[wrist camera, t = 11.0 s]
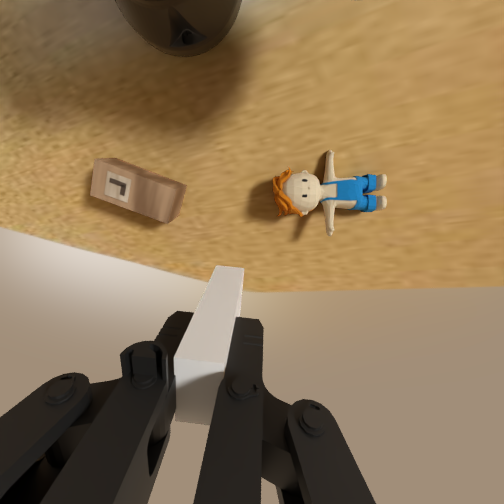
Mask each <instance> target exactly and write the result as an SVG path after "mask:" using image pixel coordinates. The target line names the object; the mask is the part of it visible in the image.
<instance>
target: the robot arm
mask: <svg viewBox="0 0 504 504" xmlns="http://www.w3.org/2000/svg"><path fill="white" fill-rule="evenodd" d="M115 1H116V3H117V5H118V7H119V9H120V10H121V12H122V14H123V15H124V17H125V18H126V19H127V21H128V22H129V24H130V25H131V26H132V27H133V28H134V29H135V30H136V31H137V32H138V33H139V34H140V35H141V36H142V37H143V38H144V39H145V40H146V41H147V42H148V43H150V44H151V45H152V46H154V47H155V48H157V49H159V50H160V51H162V52H165V53H167V54H170V55H174V56H182V57H187V56H194V55H198V54H201V53H204V52H206V51H208V50H210V49H211V48H213V47H214V46H215V45H217V44H218V43H219V42H220V41H221V40H222V39H223V38H224V37H225V35H226V34H227V33H228V31H229V30H230V28H231V27H232V25H233V23H234V21H235V19H236V17H237V14H238V11H239V8H240V5H241V1H242V0H115ZM243 276H244V268H237V267H228V266H219V265H216V267H215V269H214V271H213V274H212V276H211V278H210V280H209V282H208V284H207V287H206V289H205V291H204V293H203V295H202V297H201V300H200V302H199V304H198V306H197V308H196V310H195V313H192V312H183V311H177V312H175V313H174V314H173V315H171V316H170V317H168V319H167V320H166V322H165V324H164V325H163V328H162V329H161V330H160V332H159V335H157V337H156V339H155V340H154V341H142V342H138V343H135V344H133V345H131V346H129V347H127V348H126V349H125V350H124V351H123V352H122V353H121V354H120V359H121V367H122V375H123V376H122V377H121V378H119V379H115V380H111V381H105V382H99V383H92V384H90V383H89V379H88V377H86V376H85V375H84V374H81V373H75V372H74V373H67V374H63V375H60V376H57V377H55V378H53V379H51V380H49V381H48V382H46V383H44V384H43V385H42V386H40V387H39V388H38V389H36V390H35V391H34V392H32V393H31V394H30V395H29V396H27V397H26V398H25V399H23V400H22V401H21V402H19V403H18V404H17V405H16V406H14V407H13V408H12V409H11V410H9V411H8V412H7V413H6V414H4V415H3V416H1V417H0V504H147V503H148V500H149V497H150V494H151V491H152V489H153V485H154V483H155V479H156V477H157V474H158V471H159V468H160V465H161V462H162V459H163V456H164V453H165V450H166V448H167V445H168V442H169V438H170V424H171V421H172V419H173V416H174V413H175V420H176V421H180V422H188V423H196V424H204V425H210V429H209V434H208V438H207V443H206V447H205V452H204V457H203V461H202V466H201V471H200V475H199V480H198V484H197V489H196V494H195V499H194V503H193V504H261V477H262V478H264V479H266V480H267V481H269V482H271V483H273V484H274V485H276V489H277V494H278V499H279V504H376V503H375V501H374V499H373V497H372V495H371V493H370V491H369V489H368V487H367V484H366V482H365V480H364V478H363V476H362V474H361V472H360V470H359V468H358V466H357V464H356V462H355V460H354V457H353V455H352V453H351V452H350V449H349V447H348V445H347V443H346V441H345V439H344V437H343V435H342V433H341V431H340V428H339V427H338V424H337V422H336V420H335V418H334V417H333V416H332V414H331V413H330V411H329V410H328V409H327V408H325V407H324V406H323V405H322V404H320V403H318V402H315V401H313V400H305V399H302V400H299V401H296V402H295V403H294V404H293V405H290V404H288V403H285V402H283V401H281V400H279V399H277V398H275V397H274V396H273V395H272V394H270V393H269V392H268V390H267V389H266V388H265V386H264V383H263V380H262V362H263V326H262V324H261V323H260V321H259V319H251V318H242V317H239V316H240V309H241V298H242V287H243Z"/></svg>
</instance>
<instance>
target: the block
mask: <svg viewBox="0 0 504 504" xmlns="http://www.w3.org/2000/svg"><path fill="white" fill-rule="evenodd" d="M186 187H187V185H185V184H182V183H179V182H177V181H174V180H172V179H169V178H166V177H164V176H161V175H159V174H156V173H153V172H151V171H148V170H146V169H143V168H140V167H138V166H135V165H133V164H130V163H127V162H125V161H122V160H119V159H117V158H101V159H95V160H94V168H93V176H92V184H91V192H90V195H91V196H93V197H96V198H99V199H102V200H104V201H107V202H110V203H112V204H115V205H118V206H121V207H123V208H126V209H129V210H131V211H134V212H137V213H140V214H142V215H145V216H148V217H150V218H153V219H156V220H158V221H161V222H164V223H167V224H168V223H169V222H171V221H172V220H174V219H175V218H176V217H178V216H179V213H180V209H181V206H182V202H183V198H184V194H185V191H186Z"/></svg>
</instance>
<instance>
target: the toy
mask: <svg viewBox="0 0 504 504" xmlns="http://www.w3.org/2000/svg"><path fill="white" fill-rule="evenodd" d="M333 157H334V152H332V150H329V151H328V152H327V154H326V163H325V173H324V179H323V183H322V184H321V185H320V183H319V180H318V178H317V177H316V176H314V175H312V174H308V172H307V171H306V170H303V171H302V172H301V173H296V174H291V172H294V171H291V170H290V168H289V170H286V171H285V172H283V173H282V174H281V176H278V177H276V176H275V177H274V178H273V185H274V186H273V192H274V194H275V197H274V200H275V202H276V204H277V205H278V208H279V214H278V215H277V216H280V215H281V213H282V211H284V215H287V214H288V213H289V214H293V213H294V214H298V215H299V216H300V217H301V216H304V215H307V213H308V211H312V210H314V208H315V207H316V206H317V205H318V202H319V201H320V203H322V205H323V209H324V214H325V223H326V232H327V235H328V236H332V233H333V231H334V227H333V219H334V210H335V208H344V209H348V210H361V212H372V211H374V210H382V209H385V208H386V205H387V199H386V197H385V196H377V197H376V196H374V195H362V194H363V193H369V192H372V191H378V190H381V189H382V188H384V187H385V185H386V182H387V177H386V175H385V174H381V175H378V176H376V175H370V174H367V175H364V176H362V177H359V176H354V177H351V178H336V177H335V174H334V166H333ZM288 167H289V166H288ZM291 212H292V213H291Z"/></svg>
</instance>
